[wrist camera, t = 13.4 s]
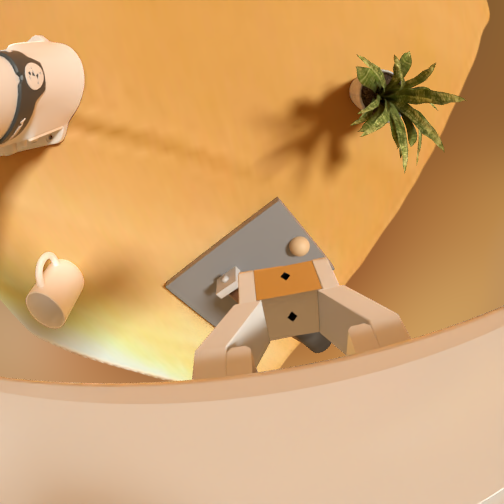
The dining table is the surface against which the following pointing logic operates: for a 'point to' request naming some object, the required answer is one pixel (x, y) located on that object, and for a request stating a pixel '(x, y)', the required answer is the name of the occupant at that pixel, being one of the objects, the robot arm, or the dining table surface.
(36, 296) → the mug
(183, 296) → the press base
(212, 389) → the robot arm
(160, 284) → the dining table surface
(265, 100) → the dining table surface
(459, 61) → the dining table surface
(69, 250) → the dining table surface
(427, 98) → the house plant
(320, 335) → the lever
